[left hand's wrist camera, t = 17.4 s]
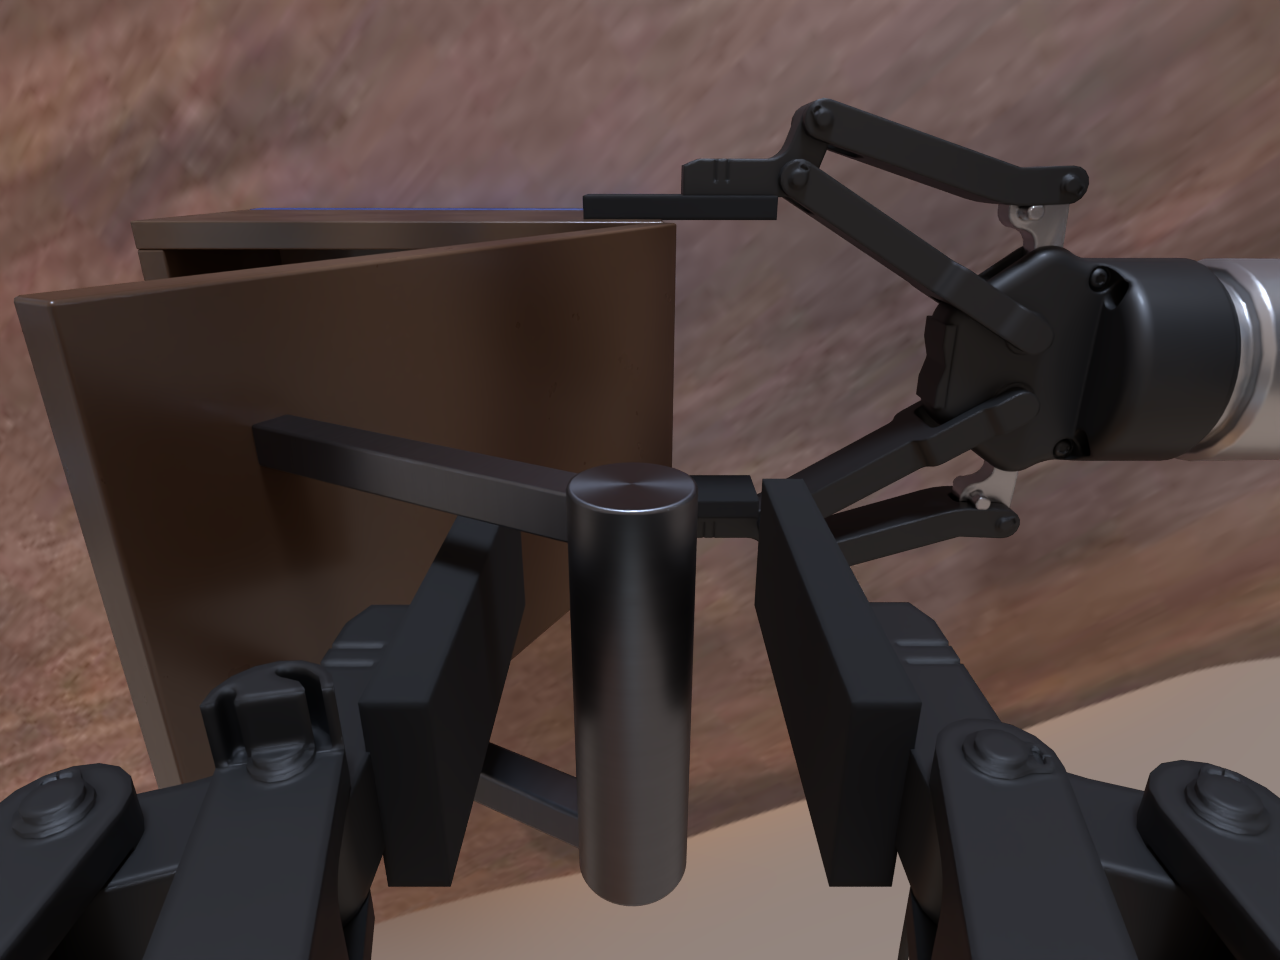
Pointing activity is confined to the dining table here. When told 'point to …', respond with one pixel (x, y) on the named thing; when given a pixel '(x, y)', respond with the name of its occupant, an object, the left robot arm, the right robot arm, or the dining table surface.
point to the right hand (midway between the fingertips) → (589, 361)
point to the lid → (398, 491)
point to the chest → (333, 234)
